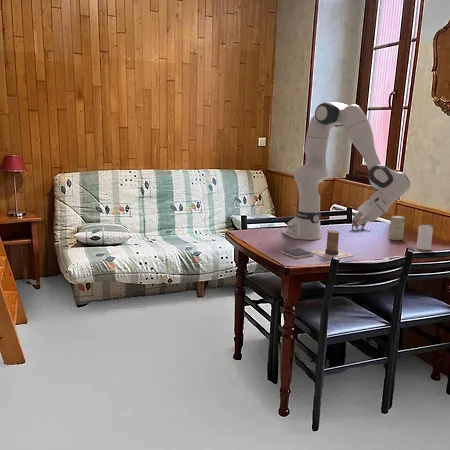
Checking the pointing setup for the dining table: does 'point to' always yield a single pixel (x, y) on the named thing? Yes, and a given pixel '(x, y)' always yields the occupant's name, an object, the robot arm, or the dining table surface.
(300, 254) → the ink pad
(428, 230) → the can
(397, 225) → the skincare box
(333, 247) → the stamp
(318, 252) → the marked board
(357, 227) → the bull figurine
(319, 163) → the robot arm
